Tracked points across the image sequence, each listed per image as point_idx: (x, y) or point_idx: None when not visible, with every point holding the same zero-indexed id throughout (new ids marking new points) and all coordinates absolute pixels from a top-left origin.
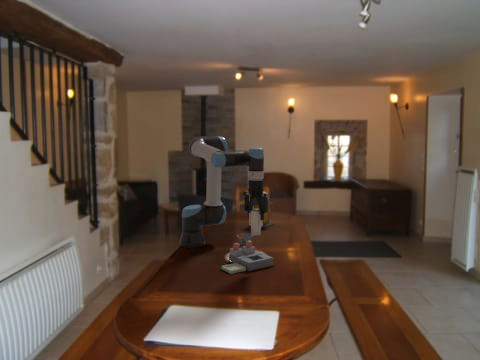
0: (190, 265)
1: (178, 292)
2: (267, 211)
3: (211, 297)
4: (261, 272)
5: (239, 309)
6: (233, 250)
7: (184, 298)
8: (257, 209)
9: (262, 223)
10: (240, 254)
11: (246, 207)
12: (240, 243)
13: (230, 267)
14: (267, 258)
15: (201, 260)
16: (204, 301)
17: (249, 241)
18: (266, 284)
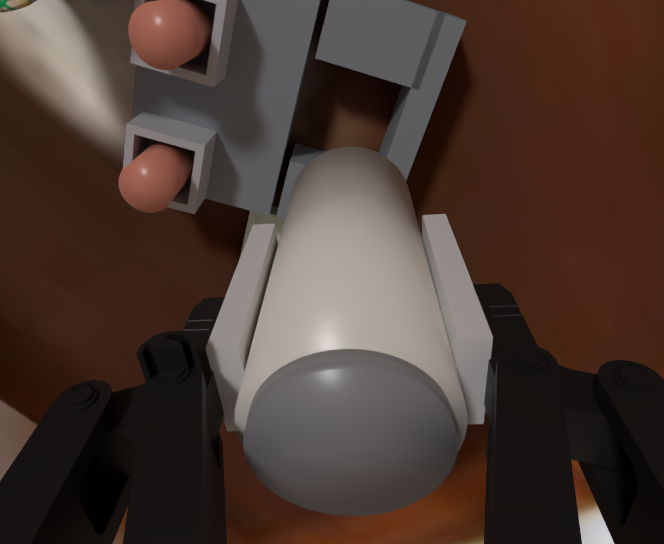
0: (70, 340)
1: (314, 525)
2: (660, 387)
3: (439, 501)
4: (459, 195)
5: (581, 513)
6: (174, 207)
7: (368, 539)
8: (390, 444)
9: (451, 240)
10: (211, 150)
11: (121, 513)
12: None
13: None
14: (436, 76)
15: (22, 252)
16: (440, 526)
17: (169, 37)
18: (573, 316)
